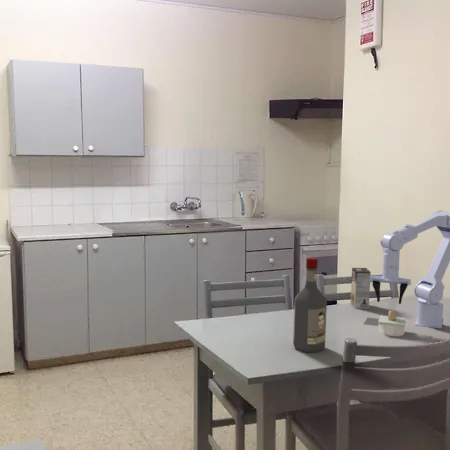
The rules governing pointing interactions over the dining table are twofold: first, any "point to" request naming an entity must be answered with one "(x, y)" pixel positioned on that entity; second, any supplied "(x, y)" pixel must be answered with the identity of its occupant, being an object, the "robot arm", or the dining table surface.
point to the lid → (392, 319)
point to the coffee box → (360, 288)
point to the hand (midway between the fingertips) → (389, 302)
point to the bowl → (391, 330)
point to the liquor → (310, 313)
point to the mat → (371, 321)
